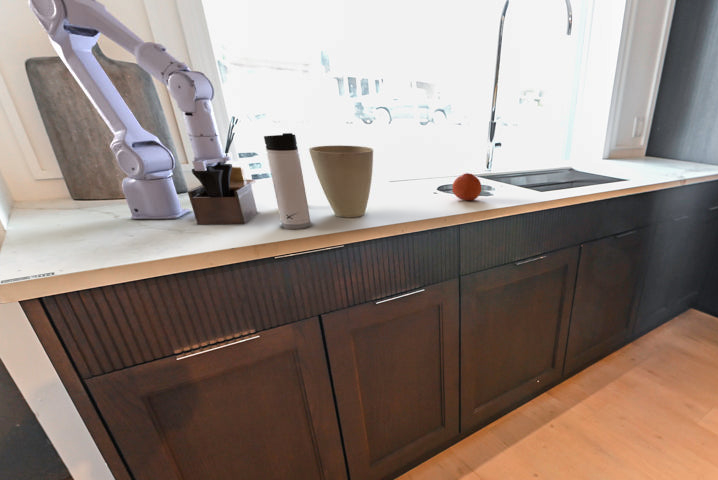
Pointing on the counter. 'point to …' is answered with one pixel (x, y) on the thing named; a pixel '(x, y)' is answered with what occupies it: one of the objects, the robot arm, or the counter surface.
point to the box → (223, 206)
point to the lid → (238, 178)
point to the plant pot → (344, 177)
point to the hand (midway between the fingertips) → (221, 198)
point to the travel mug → (288, 180)
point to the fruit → (467, 187)
